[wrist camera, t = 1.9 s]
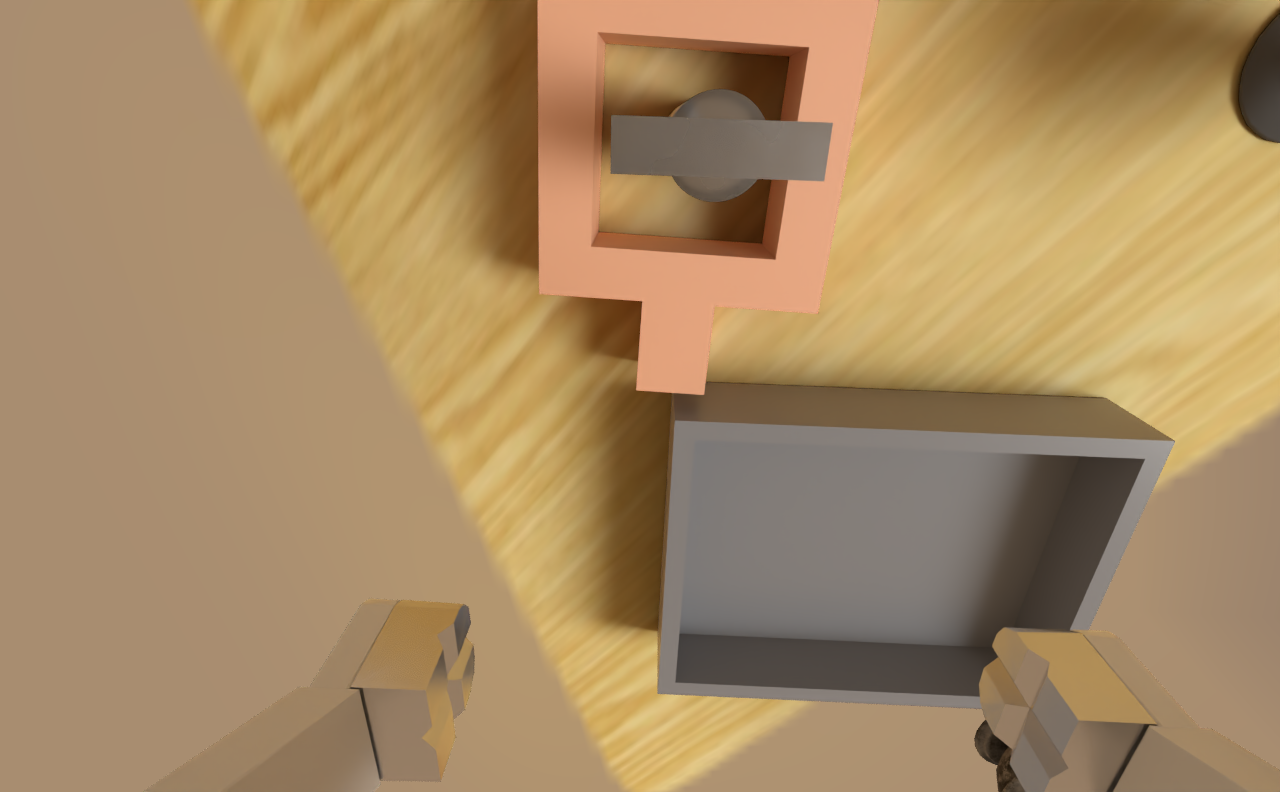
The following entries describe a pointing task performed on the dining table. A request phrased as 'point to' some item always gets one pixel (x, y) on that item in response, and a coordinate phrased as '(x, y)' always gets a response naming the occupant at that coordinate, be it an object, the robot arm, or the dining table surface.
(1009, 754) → the salt shaker
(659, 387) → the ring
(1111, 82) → the dining table surface
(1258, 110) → the sundae
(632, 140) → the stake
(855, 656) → the tray
